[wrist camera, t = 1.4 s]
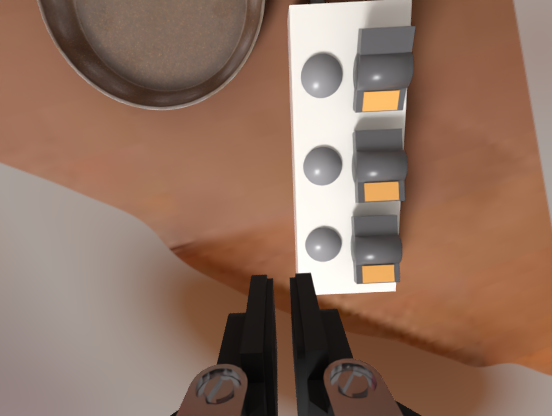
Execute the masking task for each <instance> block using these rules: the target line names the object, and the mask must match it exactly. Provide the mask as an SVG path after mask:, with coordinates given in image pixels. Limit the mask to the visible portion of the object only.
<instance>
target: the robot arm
mask: <svg viewBox="0 0 552 416" xmlns="http://www.w3.org/2000/svg"><path fill="white" fill-rule="evenodd" d="M290 296H291V320H292V344H293V358H294V372H295V385H296V397H297V411H298V416H421V415H419V414H418V413H416V412H414V411H412V410H411V409H409V408H407V407H406V406H404V405H402V404H400V403H399V402H397V401H395V400H394V398H393V396H392V394H391V393H390V391H389V389H388V387H387V385H386V384H385V382H384V380H383V378H382V376H381V375H380V374H379V372H378V371H377V370H376V369H375V368H374V367H372V366H371V365H370V364H368V363H366V362H363V361H361V360H356V359H353V356H352V353H351V350H350V347H349V344H348V341H347V338H346V334H345V331H344V328H343V325H342V322H341V319H340V316H339V313H338V310H337V309H319V306H318V301H317V297H316V293H315V288H314V284H313V280H312V275H311V273H296V274H295V277H294V278H290ZM277 396H278V394H277V339H276V323H275V304H274V286H273V278H272V279H267V275H252V276H251V282H250V289H249V296H248V303H247V309H246V313H230V314H229V315H228V319H227V323H226V327H225V332H224V336H223V340H222V345H221V349H220V353H219V358H218V362H217V365H214V366H211V367H208V368H207V369H205V370H203V371H201V372H200V373H199V374H198V375H197V376H196V377H195V378H194V380H193V381H192V382H191V384H190V386H189V388H188V391H187V393H186V395H185V397H184V399H183V402H182V404H181V406H180V408H179V410H178V411H176V412H175V413H173V414H172V415H171V416H278V403H277V401H278V397H277Z"/></svg>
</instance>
